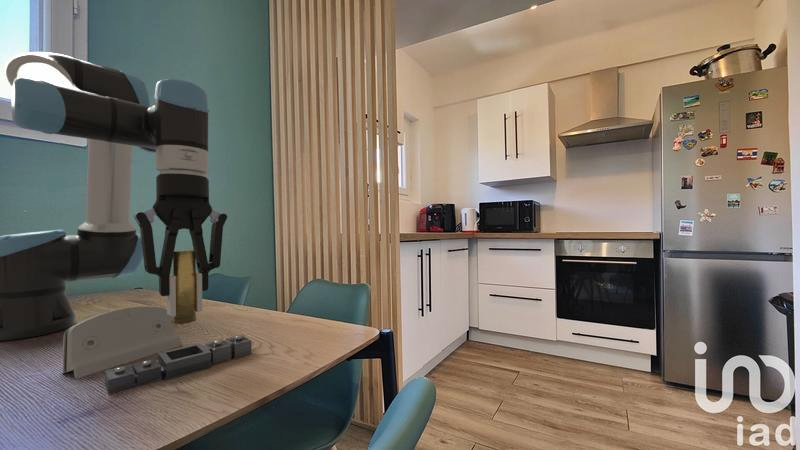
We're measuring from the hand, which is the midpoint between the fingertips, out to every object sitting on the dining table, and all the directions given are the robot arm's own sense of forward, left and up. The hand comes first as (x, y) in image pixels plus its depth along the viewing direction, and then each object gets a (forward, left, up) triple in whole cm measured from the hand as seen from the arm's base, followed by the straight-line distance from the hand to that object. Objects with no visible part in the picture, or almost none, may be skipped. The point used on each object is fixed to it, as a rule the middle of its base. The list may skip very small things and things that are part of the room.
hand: (184, 312), depth 56 cm
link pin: (0, 0, -2) cm, 2 cm away
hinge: (-14, -7, -10) cm, 19 cm away
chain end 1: (0, -3, -10) cm, 10 cm away
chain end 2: (0, +4, -10) cm, 10 cm away
